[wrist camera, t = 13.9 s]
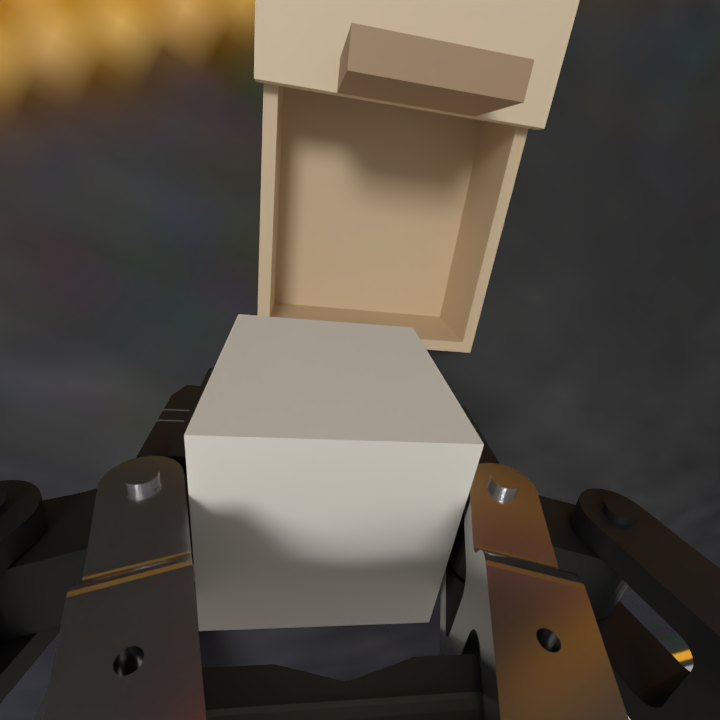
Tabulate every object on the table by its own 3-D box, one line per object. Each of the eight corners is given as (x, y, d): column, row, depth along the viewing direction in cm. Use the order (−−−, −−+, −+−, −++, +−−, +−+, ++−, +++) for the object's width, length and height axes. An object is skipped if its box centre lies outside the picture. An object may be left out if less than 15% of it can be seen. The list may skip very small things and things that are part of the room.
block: (387, 461, 13) (429, 622, 8) (239, 457, 12) (199, 630, 8) (412, 327, 11) (484, 444, 6) (238, 314, 10) (184, 435, 6)
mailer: (443, 322, 28) (470, 352, 24) (265, 308, 26) (257, 337, 22) (518, -11, 21) (577, -60, 16) (277, -67, 19) (269, -139, 14)
